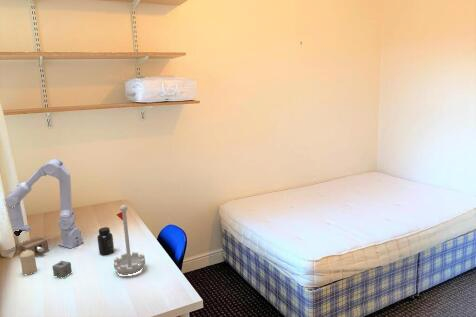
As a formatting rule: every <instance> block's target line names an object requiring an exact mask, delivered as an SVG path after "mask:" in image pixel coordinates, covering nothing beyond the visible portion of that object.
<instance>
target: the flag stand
mask: <svg viewBox="0 0 476 317" xmlns="http://www.w3.org/2000/svg"><path fill="white" fill-rule="evenodd" d="M119 210H120V212H118V213H117V214H115V215H116V217H118V218H119V219H120V220H121V221H122V224H123V231H124V232H123V233H124V242H125V251H126V253H123V254H120V256H121V257H115V258H114V259H113V269H114V270H116V271H117V272H118V273H119V274H122V275H128V274H133V273H136V272H138V271H140V270H141V269H142V268H143V269H144V265H145V263H146V257H145V254H144V253H140V254H139V251H135V252H134V251H133V252H131V245H130V237H129V229H128V228H129V227H128V220H127V211H128V206H127V205H125V204H122V205H121V206H120V207H119ZM138 264H139V265H138Z"/></svg>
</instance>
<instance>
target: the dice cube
mask: <svg viewBox="0 0 476 317" xmlns="http://www.w3.org/2000/svg"><path fill="white" fill-rule="evenodd" d="M52 272H53V277H54V276H57V277H56V278H58V277H62V278H63V277H65V276H66V277H68V276H69V275H71V274H72V273H73V270H72V263H71V262H70V261H66V260H60V261H58V262H57V263H55V264H54V265H53V264H52ZM71 272H72V273H71ZM70 273H71V274H70ZM68 274H69V275H68ZM67 275H68V276H67ZM66 277H65V278H66ZM62 278H61V279H62ZM63 279H64V278H63Z"/></svg>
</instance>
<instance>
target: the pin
mask: <svg viewBox="0 0 476 317" xmlns="http://www.w3.org/2000/svg"><path fill="white" fill-rule="evenodd" d="M28 240H29V239H27V240H26V241H28ZM35 251H38V252H44V251H45V249H44V248H42V247H39V246H36V247H35Z"/></svg>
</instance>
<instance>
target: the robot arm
mask: <svg viewBox="0 0 476 317" xmlns="http://www.w3.org/2000/svg"><path fill="white" fill-rule="evenodd" d="M47 175H48V176H50V177H53V178H55V179H57V180H58V182H59V200H60V202H59V203H60V214H59V220H58V222H57V225H58V228H59V229H60V235H61V241H62V242H61V243H59V244H58V246H61V247H64V248H69V249H73V248H75V247H78V246H79V245H81V244H83V243H84V242H85V241H84V240H83V237H82V231H81V230H80V229H79V228H78V227H77V225H76V222H75V221H76V219H77V217H76V215H75V213H74V209H73V205H72V204H73V202H72V185H71V184H72V183H71V174H70V172H69V170H68V169H67V168H66V166H65V164H64V162H63V161H61V160H60V159H58V158H50V160H49V161H47V162H46V163H44V164H43V165H42V166H40V167H39V168H37V170H36V171H35V172H34V173H33V174H32V175H31V176H30V177H28V179H27V180H26V181H25V182H23V181H22V182H20V183H17V184H16V188H14V189H13V190H11V191H9V195H6V196H5V198H4V200H5V201H6V205H5V206H6V208H7V213H9V215H8V218H9V217H10V220H9V222H10V221H11V224H12V229H13V230H19V231H15V232H14V234H15V235H16V236H19V235H20V233H21V232H22V231H26V232H31V231H32V229H31V226H29V225H27V224H26V225H25V226H24V223H25V222H24V215H23V211H22V206H21V205H22V204H21V201H22V200H23V199H24V198H25V197H26V196H27V195H28V194H29V193H30V192H31V191H32V186H33V185H34V184H35V183H36V182H38V180H40V179H41V178H42V177H46V176H47ZM14 206H15V207H14ZM12 207H13V208H12ZM26 232H25V233H26Z"/></svg>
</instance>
